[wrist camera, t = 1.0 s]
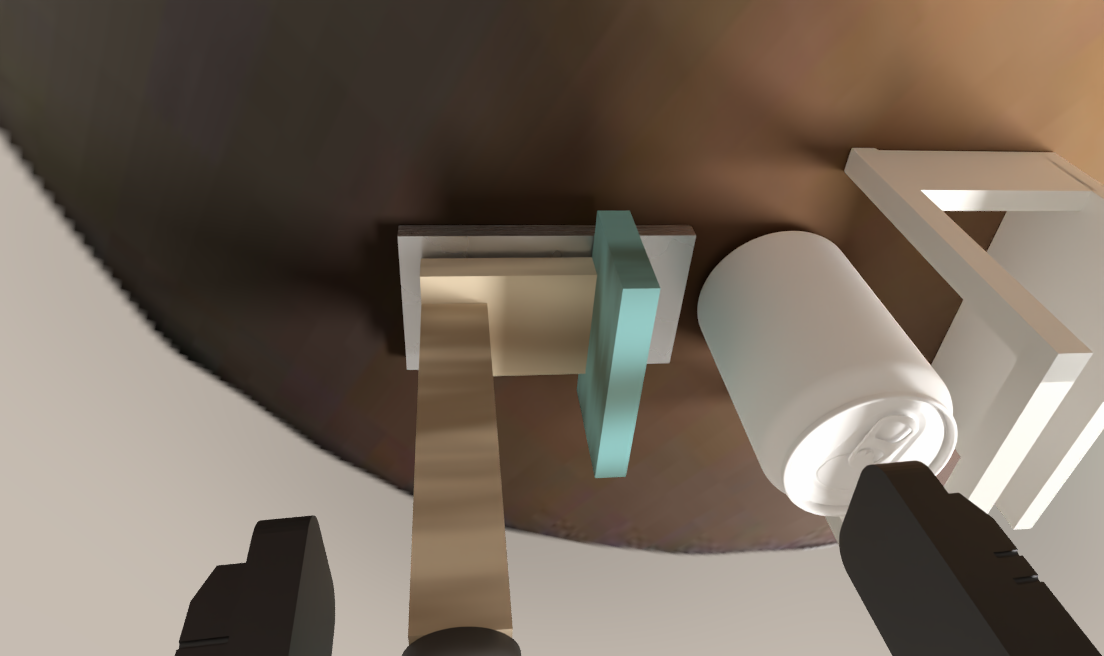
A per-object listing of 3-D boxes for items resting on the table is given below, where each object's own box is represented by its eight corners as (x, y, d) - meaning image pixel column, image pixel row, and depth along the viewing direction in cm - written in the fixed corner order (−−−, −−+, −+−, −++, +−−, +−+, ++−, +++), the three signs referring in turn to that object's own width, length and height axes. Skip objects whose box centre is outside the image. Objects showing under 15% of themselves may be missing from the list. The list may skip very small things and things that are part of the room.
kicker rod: (411, 210, 33) (383, 609, 18) (629, 210, 34) (777, 583, 19) (422, 394, 40) (408, 797, 24) (604, 389, 41) (698, 769, 26)
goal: (851, 147, 35) (1058, 353, 23) (1055, 150, 36) (1348, 346, 24) (768, 401, 45) (883, 635, 33) (930, 395, 46) (1097, 619, 34)
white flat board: (398, 225, 35) (397, 236, 34) (690, 224, 36) (696, 235, 36) (407, 357, 40) (407, 369, 39) (665, 351, 41) (669, 363, 41)
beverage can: (665, 325, 40) (732, 503, 31) (751, 201, 36) (859, 362, 27) (783, 365, 43) (878, 539, 34) (875, 254, 39) (1013, 417, 30)
